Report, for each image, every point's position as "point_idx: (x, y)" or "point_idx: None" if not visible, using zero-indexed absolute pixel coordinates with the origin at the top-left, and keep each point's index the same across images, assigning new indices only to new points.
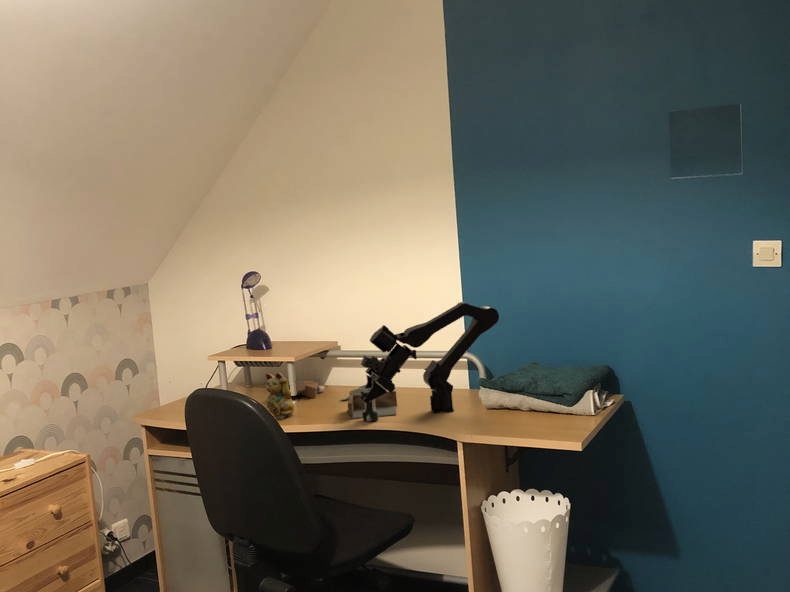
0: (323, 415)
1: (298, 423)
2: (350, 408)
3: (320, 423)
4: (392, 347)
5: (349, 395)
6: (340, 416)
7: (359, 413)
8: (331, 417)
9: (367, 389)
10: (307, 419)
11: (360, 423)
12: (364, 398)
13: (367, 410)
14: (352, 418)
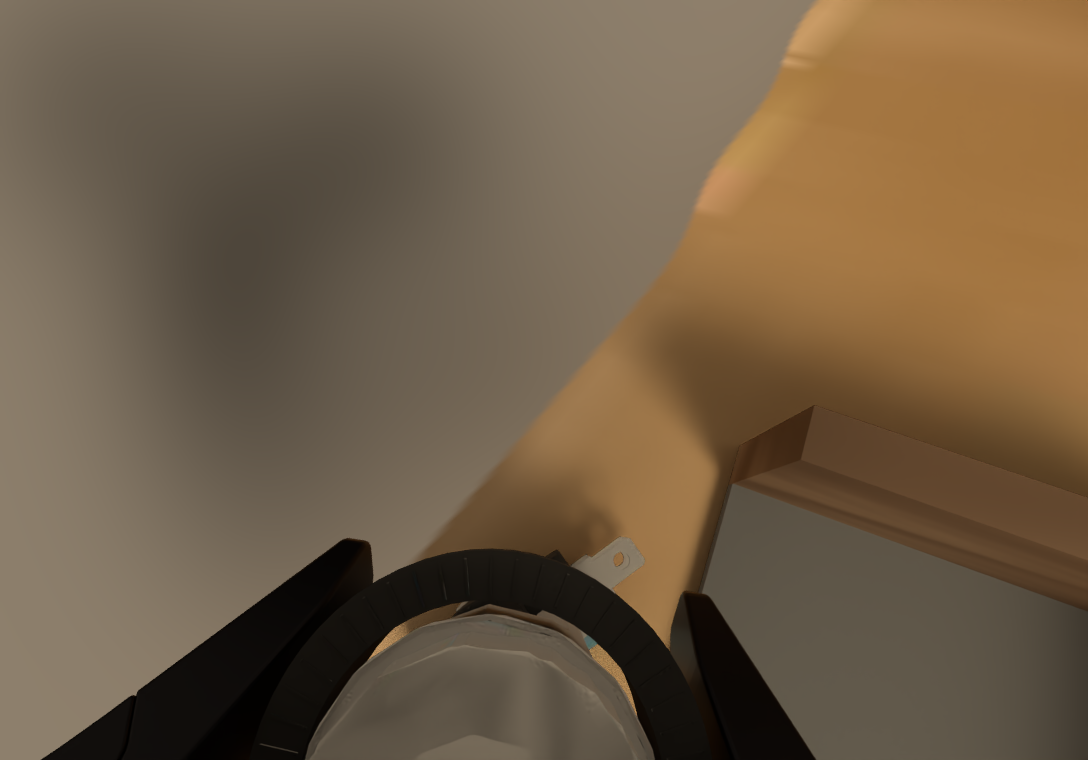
0: (1083, 278)
1: (880, 35)
2: (778, 452)
3: (758, 177)
4: None
5: None
6: (937, 410)
7: (902, 625)
8: (945, 320)
9: (377, 755)
10: (991, 122)
11: (487, 493)
12: (482, 609)
13: (464, 607)
14: (731, 481)
